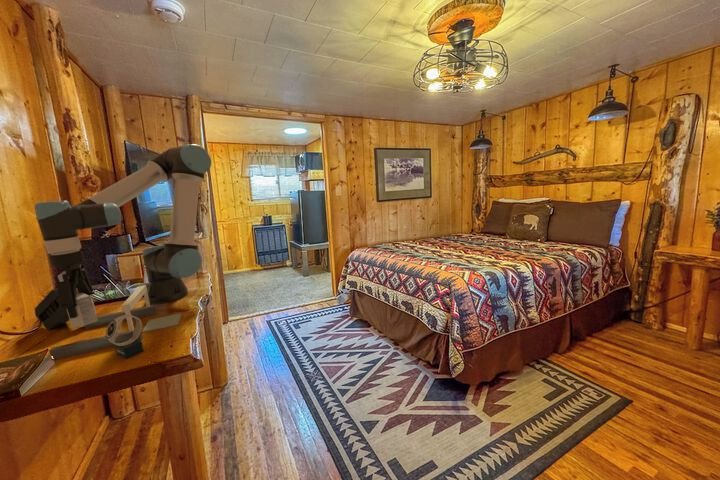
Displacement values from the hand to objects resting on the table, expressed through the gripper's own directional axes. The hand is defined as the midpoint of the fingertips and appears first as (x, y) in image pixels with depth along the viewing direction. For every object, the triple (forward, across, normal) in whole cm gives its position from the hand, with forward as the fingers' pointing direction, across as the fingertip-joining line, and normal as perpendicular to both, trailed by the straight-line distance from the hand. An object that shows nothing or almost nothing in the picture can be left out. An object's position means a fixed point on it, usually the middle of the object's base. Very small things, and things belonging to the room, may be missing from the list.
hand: (84, 320), depth 95 cm
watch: (+6, +20, +16) cm, 26 cm away
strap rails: (+6, 0, +6) cm, 9 cm away
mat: (+6, +1, +20) cm, 21 cm away
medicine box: (+1, 0, 0) cm, 1 cm away
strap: (+3, 0, +14) cm, 15 cm away
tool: (+6, -16, -12) cm, 20 cm away
